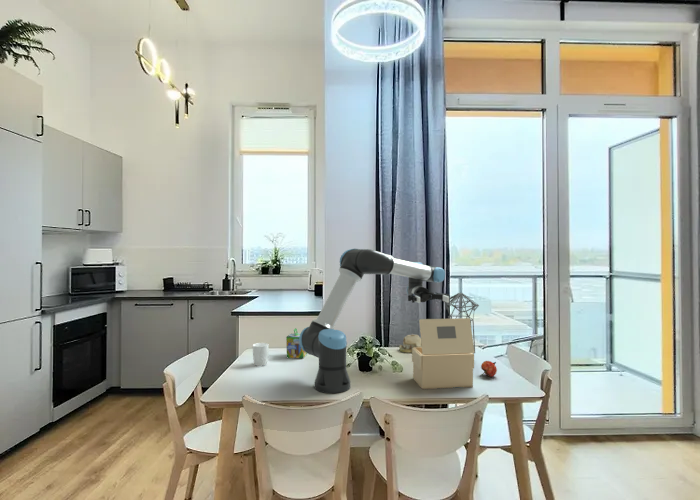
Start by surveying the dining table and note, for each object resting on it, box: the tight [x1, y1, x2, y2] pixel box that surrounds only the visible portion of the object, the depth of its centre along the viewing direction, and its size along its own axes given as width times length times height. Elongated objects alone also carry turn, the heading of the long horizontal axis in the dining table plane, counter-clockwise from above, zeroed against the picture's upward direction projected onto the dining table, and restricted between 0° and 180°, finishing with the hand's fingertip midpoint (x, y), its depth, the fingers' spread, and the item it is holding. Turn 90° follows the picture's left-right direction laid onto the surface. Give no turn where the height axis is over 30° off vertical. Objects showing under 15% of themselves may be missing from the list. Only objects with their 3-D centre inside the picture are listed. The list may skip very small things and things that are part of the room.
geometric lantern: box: [442, 292, 480, 355], centre depth 217 cm, size 16×16×35 cm
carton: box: [411, 347, 475, 390], centre depth 180 cm, size 23×14×14 cm, turn 97°
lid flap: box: [418, 317, 476, 355], centre depth 175 cm, size 22×15×1 cm
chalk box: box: [285, 328, 308, 359], centre depth 222 cm, size 9×9×15 cm
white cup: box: [252, 342, 270, 367], centre depth 207 cm, size 8×8×10 cm
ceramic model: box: [398, 333, 422, 353], centre depth 234 cm, size 14×11×10 cm
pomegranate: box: [479, 360, 498, 378], centre depth 189 cm, size 7×7×10 cm
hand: (433, 300), depth 190 cm, fingers open, 13 cm apart
